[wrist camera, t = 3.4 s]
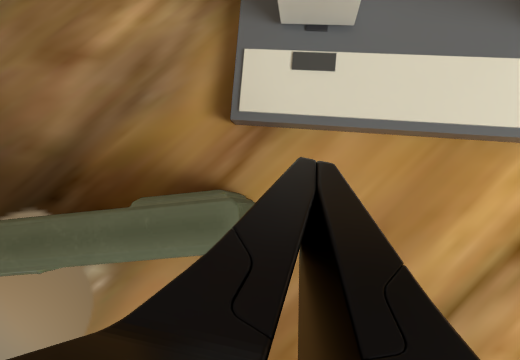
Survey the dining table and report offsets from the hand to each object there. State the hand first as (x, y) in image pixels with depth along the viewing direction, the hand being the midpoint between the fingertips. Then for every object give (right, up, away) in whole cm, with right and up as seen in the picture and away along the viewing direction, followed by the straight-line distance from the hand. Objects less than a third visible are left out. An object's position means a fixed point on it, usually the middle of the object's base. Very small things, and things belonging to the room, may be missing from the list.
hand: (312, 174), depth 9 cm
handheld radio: (-14, -4, +15) cm, 21 cm away
